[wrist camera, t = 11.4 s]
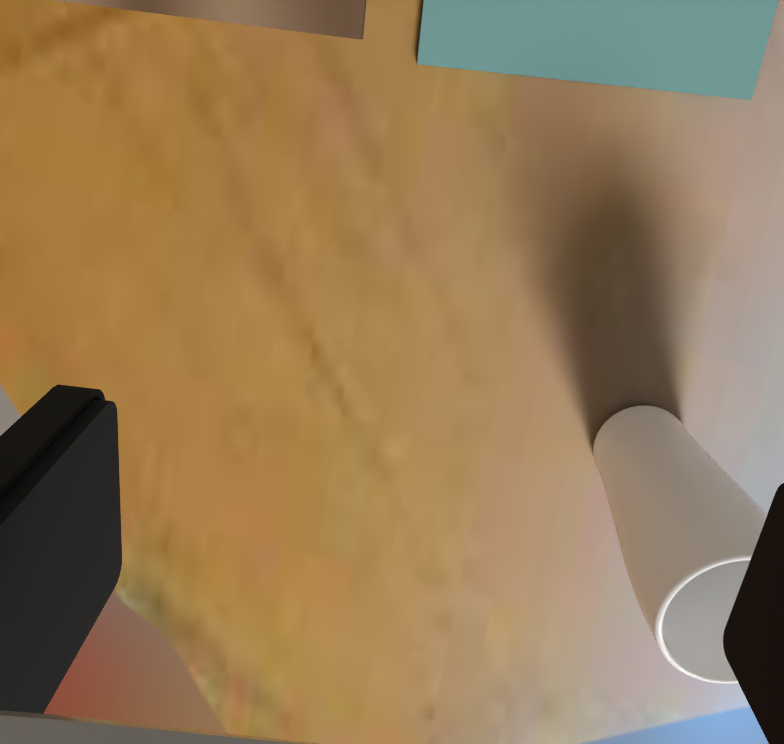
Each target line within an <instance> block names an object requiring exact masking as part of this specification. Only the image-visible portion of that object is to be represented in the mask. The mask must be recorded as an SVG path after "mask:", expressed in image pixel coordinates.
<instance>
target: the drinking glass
mask: <svg viewBox="0 0 784 744" xmlns="http://www.w3.org/2000/svg"><path fill="white" fill-rule="evenodd" d="M593 455H594V461H595V464H596V467H597V469H598V471H599V473H600V476H601V478H602V482H603V485H604V489H605V492H606V496H607V499H608V503H609V506H610V510H611V514H612V518H613V521H614V525H615V529H616V532H617V536H618V540H619V544H620V548H621V551H622V555H623V559H624V562H625V566H626V569H627V573H628V576H629V579H630V582H631V585H632V588H633V591H634V593H635V596H636V598H637V601H638V603H639V606H640V608H641V610H642V613H643V615H644V617H645V619H646V622H647V624H648V626H649V628H650V630H651V632H652V634H653V636H654V638H655V640H656V642H657V644H658V647H659V649H660V651H661V652H662V654H663V655H664V657H665V658H666V659H667V660H668V661H669V662H670V663H671V664H672V665H673V666H674V667H675V668H677V669H678V670H680V671H681V672H683V673H685V674H687V675H689V676H691V677H694V678H696V679H699V680H703V681H707V682H713V683H738V681H737V679H736V677H735V675H734V673H733V671H732V669H731V667H730V665H729V663H728V661H727V659H726V656H725V653H724V648H723V633H724V630H725V627H726V624H727V621H728V619H729V616H730V613H731V611H732V608H733V605H734V603H735V600H736V597H737V595H738V592H739V589H740V587H741V584H742V581H743V579H744V576H745V573H746V571H747V568H748V565H749V563H750V560H751V557H752V555H753V552H754V549H755V547H756V544H757V541H758V539H759V536H760V533H761V531H762V528H763V525H764V523H765V520H766V517H767V514H766V513H765V512H764V511H763V510H762V509H761V508H760V507H759V506H758V505H757V504H756V502H755V501H754V500H753V499H752V498H751V497H750V496H749V495H748V494H747V493H746V492H745V491H744V490H743V489H742V488H741V487H740V486H739V485H738V484H737V483H736V482H735V481H734V480H733V479H732V478H731V477H730V476H729V475H728V474H727V473H726V472H725V471H724V470H723V469H722V467H721V466H720V465H719V464H718V463H717V462H716V461H715V460H714V459H713V458H712V457H711V456H710V455H709V454H708V453H707V452H706V451H705V450H704V449H703V448H702V447H701V446H700V445H699V444H698V442H697V441H696V440H695V439H694V438H693V437H692V436H691V435H690V434H689V432H688V431H687V430H686V428H685V427H684V425H683V424H682V423H681V422H680V421H679V419H678V418H676V417H675V416H674V415H673V414H671V413H670V412H668V411H666V410H664V409H662V408H659V407H655V406H647V405H641V406H633V407H629V408H626V409H624V410H621V411H619V412H617V413H616V414H614V415H613V416H611V417H610V418H609V419H608V420H607V421H606V422H605V423H604V424H603V425H602V426H601V428H600V429H599V431H598V433H597V435H596V438H595V441H594V447H593Z"/></svg>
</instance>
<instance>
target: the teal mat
mask: <svg viewBox="0 0 784 744" xmlns="http://www.w3.org/2000/svg"><path fill="white" fill-rule="evenodd" d="M777 3H778V0H424V2H423V11H422V21H421V31H420V40H419V50H418V59H417V64H421V65H431V66H440V67H449V68H459V69H468V70H477V71H487V72H496V73H505V74H515V75H524V76H533V77H543V78H552V79H561V80H571V81H580V82H589V83H599V84H608V85H617V86H626V87H636V88H645V89H654V90H664V91H673V92H682V93H692V94H701V95H710V96H720V97H729V98H738V99H748V100H751V99H752V95H753V92H754V88H755V84H756V81H757V77H758V73H759V70H760V66H761V62H762V59H763V55H764V51H765V48H766V44H767V40H768V36H769V33H770V29H771V25H772V22H773V18H774V14H775V11H776V7H777Z"/></svg>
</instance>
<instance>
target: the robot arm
mask: <svg viewBox="0 0 784 744" xmlns="http://www.w3.org/2000/svg"><path fill="white" fill-rule="evenodd" d="M121 565H122V545H121V514H120V484H119V453H118V422H117V408H116V405H115V403H114V402H113V401H105V397H104V395H103V392H102V391H101V390H99V389H91V388H82V387H74V386H66V385H56V386H55V387H53V388H52V389H51V390H50V391H49V392H48V393H47V394H46V395H44V396H43V397H42V398H41V399H40V400H39V401H38V402H37V403H36V404H35V405H34V406H33V407H31V408H30V409H29V410H28V411H27V412H26V413H25V414H24V415H23V416H22V417H21V418H20V419H19V420H17V421H16V422H15V423H14V424H13V425H12V426H11V427H10V428H9V429H8V430H7V431H6V432H5V433H3V434H2V435H1V436H0V744H317V743H308V742H299V741H290V740H281V739H271V738H262V737H253V736H244V735H235V734H225V733H216V732H207V731H198V730H188V729H179V728H170V727H161V726H151V725H143V724H132V723H124V722H115V721H105V720H97V719H87V718H78V717H69V716H60V715H51V714H43V713H44V711H45V710H46V708H47V706H48V704H49V702H50V701H51V699H52V697H53V695H54V694H55V692H56V690H57V688H58V687H59V685H60V683H61V681H62V680H63V678H64V676H65V674H66V673H67V671H68V669H69V667H70V665H71V664H72V662H73V660H74V658H75V657H76V655H77V653H78V651H79V649H80V648H81V646H82V644H83V643H84V641H85V639H86V637H87V636H88V634H89V632H90V630H91V628H92V627H93V625H94V623H95V621H96V620H97V618H98V616H99V614H100V613H101V611H102V609H103V607H104V605H105V604H106V602H107V600H108V598H109V597H110V595H111V593H112V591H113V590H114V588H115V586H116V584H117V581H118V578H119V575H120V571H121ZM723 648H724V653H725V656H726V659H727V661H728V663H729V665H730V667H731V669H732V671H733V673H734V675H735V677H736V679H737V681H738V683H739V685H740V687H741V689H742V691H743V693H744V695H745V697H746V699H747V701H748V703H749V705H750V707H751V709H752V711H753V712H754V714H755V717H756V719H757V721H758V723H759V725H760V726H761V729H762V730H763V733H764V734H765V737H766V738H767V741H768V742H769V744H784V483H783V484H781V485H780V486H779V487H778V489H777V491H776V493H775V496H774V499H773V501H772V504H771V507H770V509H769V512H768V515H767V517H766V520H765V523H764V525H763V528H762V531H761V533H760V536H759V539H758V541H757V544H756V547H755V549H754V552H753V555H752V557H751V560H750V563H749V565H748V568H747V571H746V573H745V576H744V579H743V581H742V584H741V587H740V589H739V592H738V595H737V597H736V600H735V603H734V605H733V608H732V611H731V613H730V616H729V619H728V621H727V624H726V627H725V630H724V633H723Z"/></svg>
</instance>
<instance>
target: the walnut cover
mask: <svg viewBox="0 0 784 744" xmlns="http://www.w3.org/2000/svg"><path fill="white" fill-rule="evenodd" d="M57 1H64V2H72V3H80V4H88V5H96V6H104V7H111V8H119V9H127V10H135V11H143V12H151V13H158V14H166V15H174V16H182V17H190V18H198V19H205V20H213V21H221V22H229V23H237V24H245V25H252V26H260V27H268V28H276V29H284V30H292V31H299V32H307V33H315V34H323V35H331V36H339V37H346V38H354V39H363V33H364V21H365V10H366V0H57Z"/></svg>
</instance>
